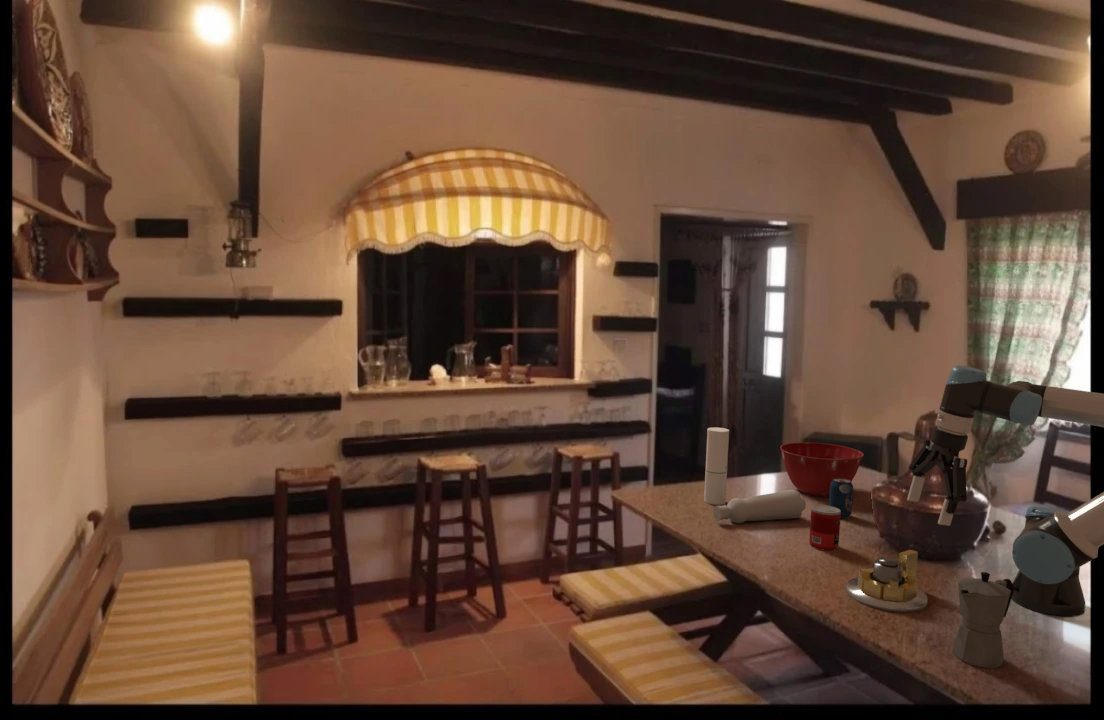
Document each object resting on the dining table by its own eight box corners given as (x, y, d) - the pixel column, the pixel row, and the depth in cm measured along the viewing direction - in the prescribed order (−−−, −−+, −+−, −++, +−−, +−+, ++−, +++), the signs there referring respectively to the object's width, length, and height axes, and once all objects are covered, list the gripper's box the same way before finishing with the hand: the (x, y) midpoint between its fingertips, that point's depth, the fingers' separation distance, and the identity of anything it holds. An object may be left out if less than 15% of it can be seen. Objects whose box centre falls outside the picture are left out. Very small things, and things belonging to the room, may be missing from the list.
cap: (942, 601, 183) (945, 565, 182) (899, 618, 173) (902, 580, 172) (873, 576, 198) (876, 542, 197) (831, 590, 188) (833, 555, 187)
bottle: (786, 501, 252) (706, 511, 242) (796, 483, 246) (715, 492, 237) (800, 523, 246) (718, 534, 236) (811, 505, 240) (728, 515, 230)
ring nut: (935, 589, 187) (938, 558, 186) (895, 605, 177) (898, 572, 176) (888, 572, 197) (891, 543, 196) (848, 586, 187) (850, 555, 186)
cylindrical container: (728, 501, 262) (732, 429, 259) (721, 506, 256) (724, 432, 253) (708, 497, 266) (712, 426, 263) (700, 502, 260) (704, 429, 257)
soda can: (850, 520, 244) (853, 483, 243) (827, 517, 246) (830, 481, 245) (851, 514, 250) (853, 478, 249) (828, 511, 253) (831, 476, 252)
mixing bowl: (765, 481, 289) (767, 441, 288) (837, 480, 293) (840, 441, 291) (797, 503, 262) (800, 459, 260) (876, 502, 265) (879, 459, 263)
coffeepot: (976, 674, 149) (984, 585, 147) (934, 652, 158) (942, 568, 156) (1028, 660, 155) (1037, 575, 153) (986, 640, 164) (993, 558, 162)
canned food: (840, 552, 215) (843, 514, 214) (810, 549, 217) (813, 511, 216) (836, 542, 223) (838, 506, 221) (807, 540, 224) (809, 503, 223)
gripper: (908, 412, 194) (887, 490, 198) (968, 446, 170) (943, 533, 174) (936, 416, 195) (914, 493, 199) (999, 450, 170) (973, 537, 175)
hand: (927, 512), depth 187 cm, fingers open, 13 cm apart
